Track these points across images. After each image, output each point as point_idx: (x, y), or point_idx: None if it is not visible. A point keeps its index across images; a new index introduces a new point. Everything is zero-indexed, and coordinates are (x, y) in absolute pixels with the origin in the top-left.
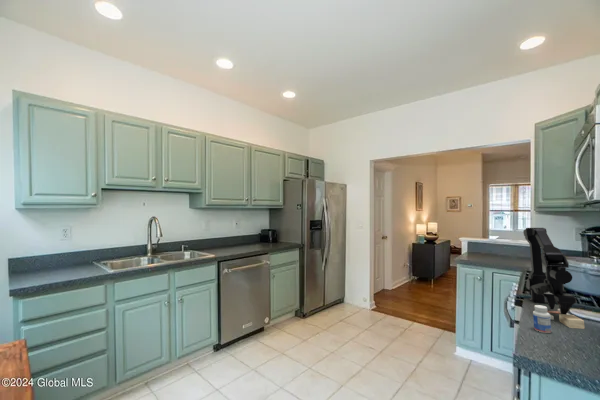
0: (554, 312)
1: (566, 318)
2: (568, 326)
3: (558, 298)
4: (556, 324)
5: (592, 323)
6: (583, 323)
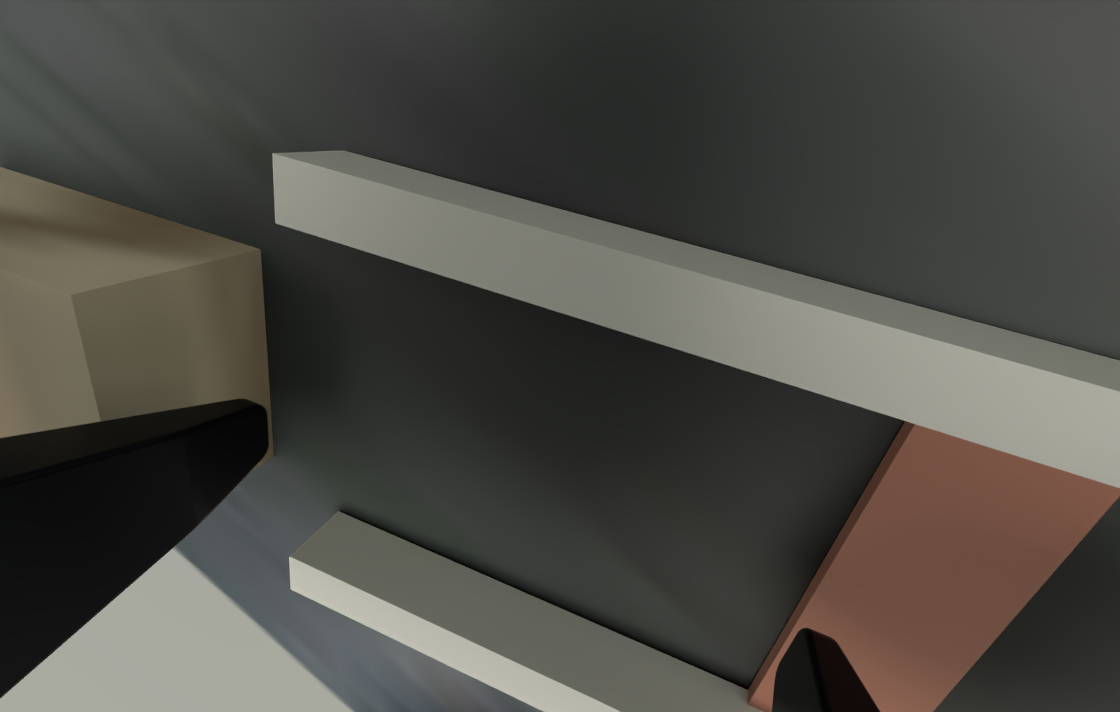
0: None
1: None
2: (13, 177)
3: None
4: (68, 29)
5: (295, 645)
6: None
